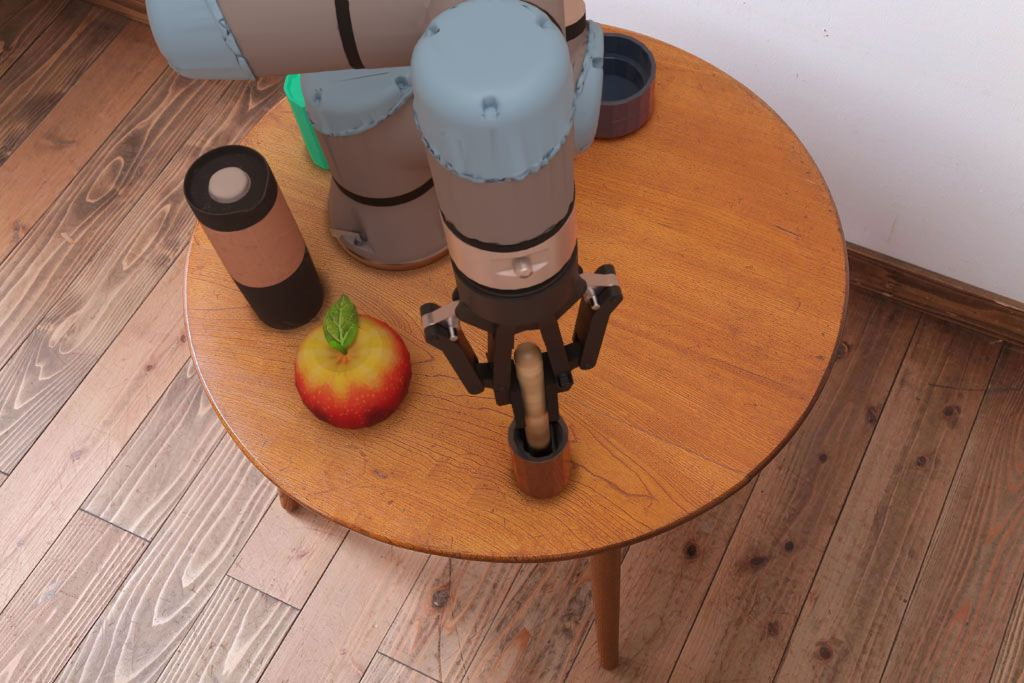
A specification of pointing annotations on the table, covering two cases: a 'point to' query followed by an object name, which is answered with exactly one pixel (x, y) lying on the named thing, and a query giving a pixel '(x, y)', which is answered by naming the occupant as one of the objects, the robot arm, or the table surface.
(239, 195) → the travel mug
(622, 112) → the bowl
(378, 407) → the fruit
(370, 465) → the table surface
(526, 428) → the stick
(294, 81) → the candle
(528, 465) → the holder
